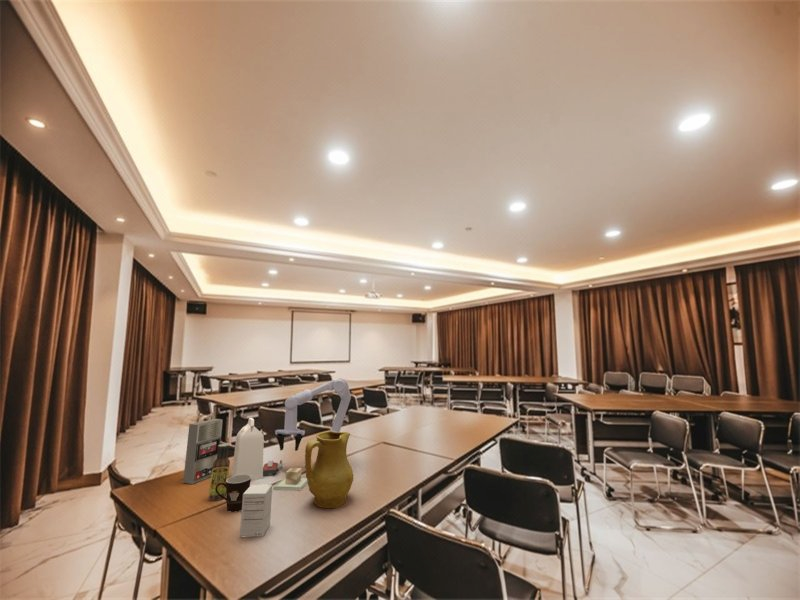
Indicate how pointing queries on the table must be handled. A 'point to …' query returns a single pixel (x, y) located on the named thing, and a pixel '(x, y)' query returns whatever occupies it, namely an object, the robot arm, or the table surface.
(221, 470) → the sauce bottle
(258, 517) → the supplement box
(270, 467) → the walkie-talkie
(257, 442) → the milk
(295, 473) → the beech cube
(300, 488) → the sage tile
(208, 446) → the cassette tape recorder
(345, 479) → the pitcher
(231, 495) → the coffee mug
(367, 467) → the table surface
